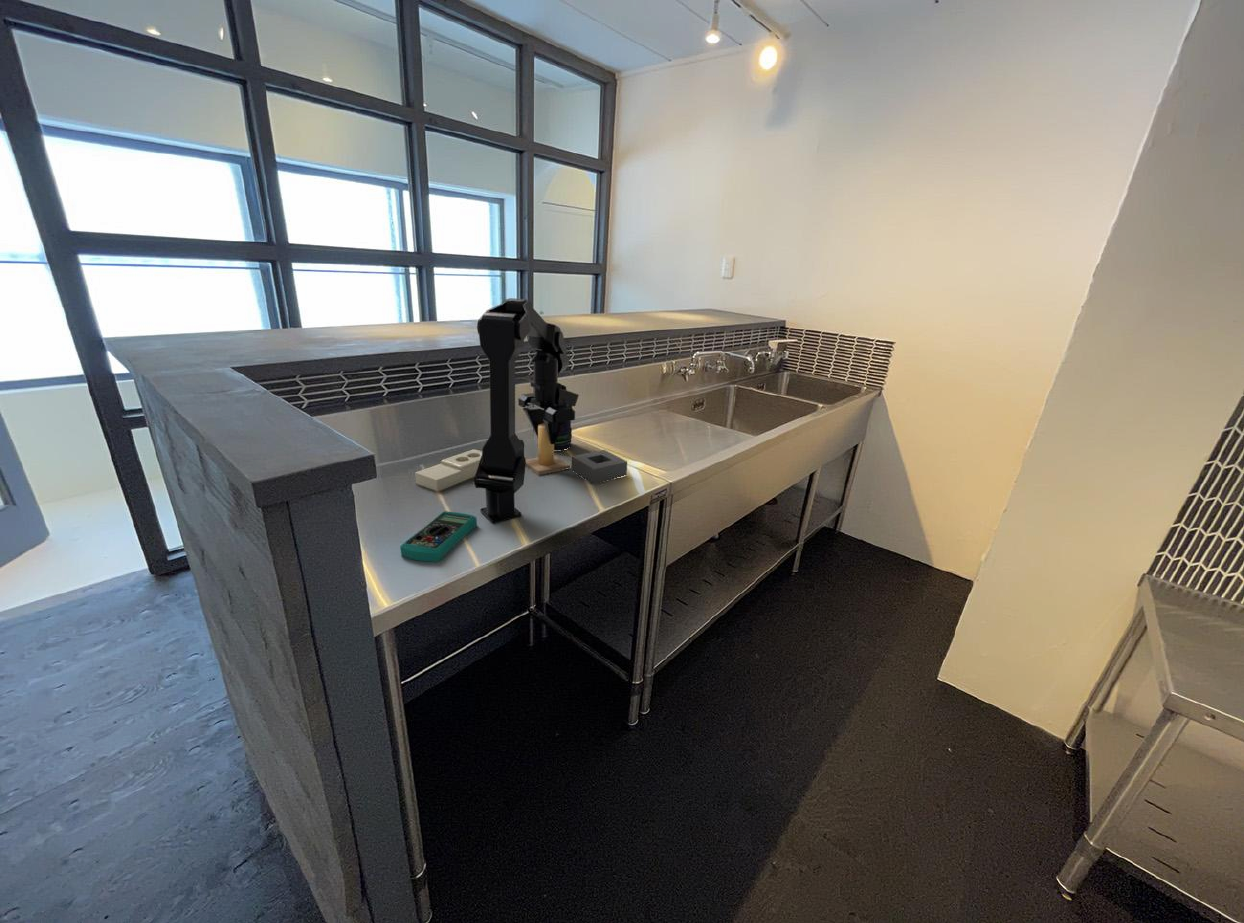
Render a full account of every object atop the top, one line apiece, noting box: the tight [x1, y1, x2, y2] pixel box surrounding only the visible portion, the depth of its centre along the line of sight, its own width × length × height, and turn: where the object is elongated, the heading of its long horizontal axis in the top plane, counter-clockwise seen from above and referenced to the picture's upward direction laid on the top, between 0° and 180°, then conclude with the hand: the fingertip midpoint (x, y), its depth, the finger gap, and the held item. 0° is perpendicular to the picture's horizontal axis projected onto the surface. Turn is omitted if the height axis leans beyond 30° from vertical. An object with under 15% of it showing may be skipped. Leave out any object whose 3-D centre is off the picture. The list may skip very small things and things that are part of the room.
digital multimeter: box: [400, 510, 478, 563], centre depth 93 cm, size 7×15×3 cm, turn 167°
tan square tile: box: [525, 455, 571, 476], centre depth 130 cm, size 9×9×1 cm
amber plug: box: [537, 423, 555, 466], centre depth 128 cm, size 4×4×10 cm
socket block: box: [570, 449, 628, 485], centre depth 127 cm, size 10×10×4 cm
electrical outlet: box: [414, 448, 482, 492], centre depth 121 cm, size 7×4×18 cm
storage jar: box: [536, 403, 573, 450], centre depth 143 cm, size 10×10×15 cm
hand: (545, 439), depth 128 cm, fingers open, 7 cm apart
